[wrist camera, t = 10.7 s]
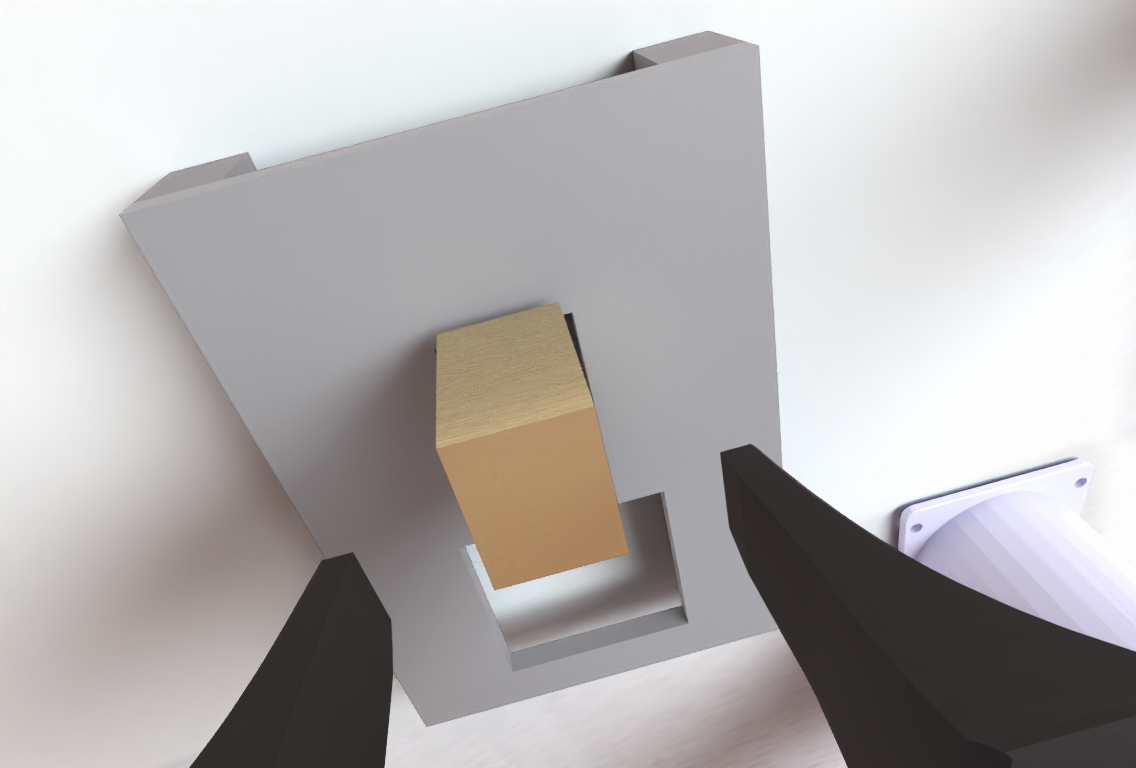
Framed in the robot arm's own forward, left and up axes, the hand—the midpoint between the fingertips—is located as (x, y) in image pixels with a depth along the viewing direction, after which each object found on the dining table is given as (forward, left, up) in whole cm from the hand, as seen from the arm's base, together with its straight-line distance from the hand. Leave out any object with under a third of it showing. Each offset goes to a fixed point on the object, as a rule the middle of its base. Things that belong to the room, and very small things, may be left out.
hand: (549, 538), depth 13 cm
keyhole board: (-3, 0, -9) cm, 10 cm away
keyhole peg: (0, 0, -9) cm, 9 cm away
